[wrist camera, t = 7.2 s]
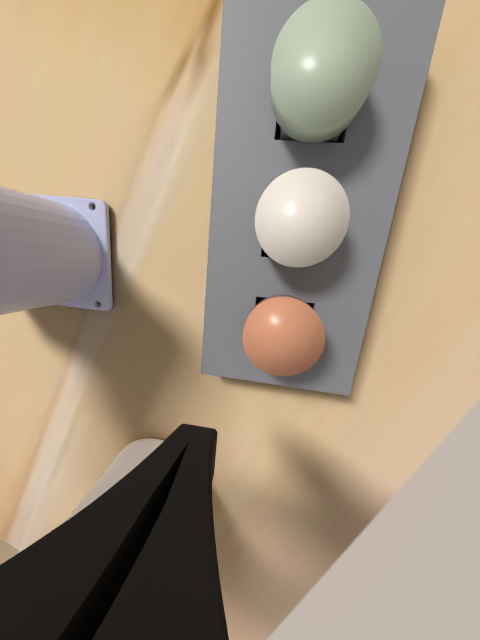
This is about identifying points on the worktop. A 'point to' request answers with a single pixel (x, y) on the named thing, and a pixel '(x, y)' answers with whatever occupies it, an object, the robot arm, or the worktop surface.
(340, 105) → the sage button
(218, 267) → the button panel
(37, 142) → the worktop surface
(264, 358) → the terracotta button
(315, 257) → the cream button
